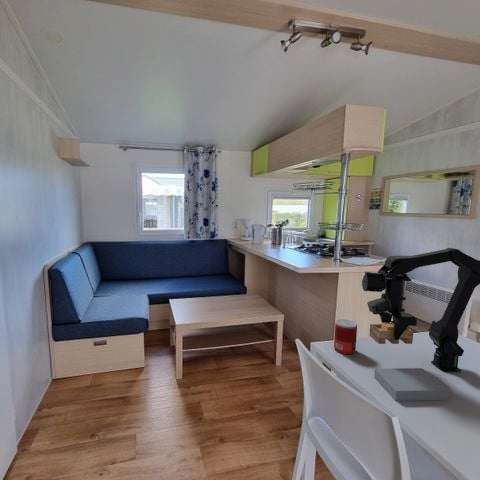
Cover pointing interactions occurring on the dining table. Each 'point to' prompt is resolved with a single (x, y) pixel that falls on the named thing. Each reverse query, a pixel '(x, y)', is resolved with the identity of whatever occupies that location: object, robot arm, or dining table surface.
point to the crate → (387, 326)
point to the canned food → (345, 336)
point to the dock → (411, 384)
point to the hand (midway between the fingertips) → (390, 335)
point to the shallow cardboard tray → (389, 335)
